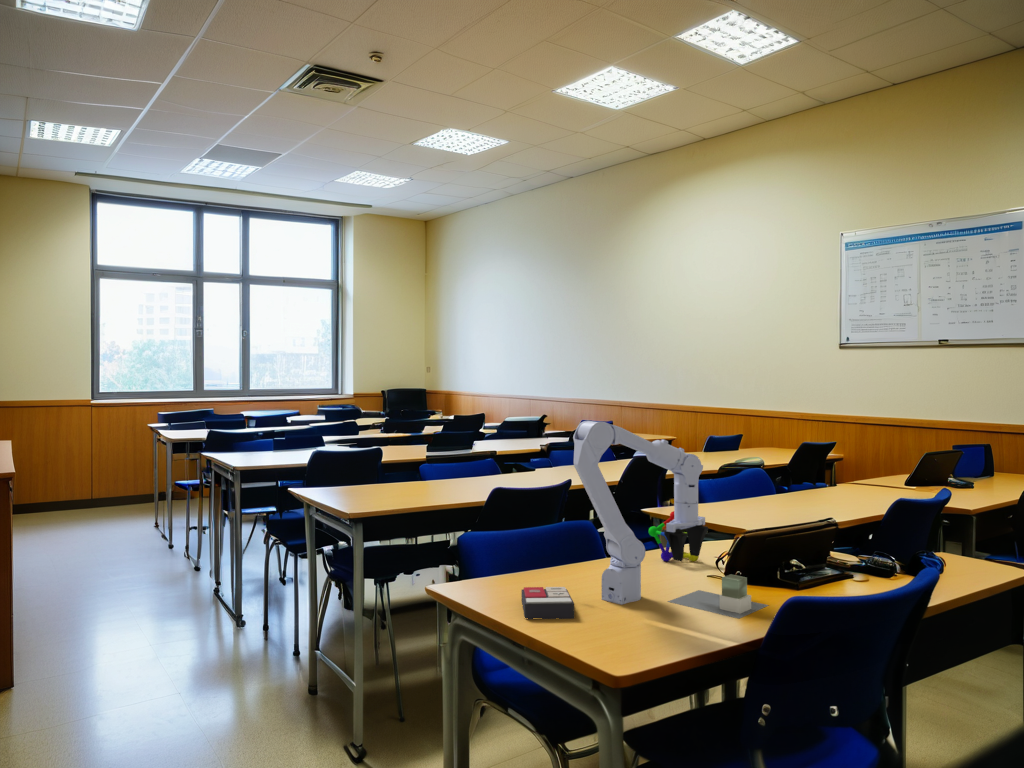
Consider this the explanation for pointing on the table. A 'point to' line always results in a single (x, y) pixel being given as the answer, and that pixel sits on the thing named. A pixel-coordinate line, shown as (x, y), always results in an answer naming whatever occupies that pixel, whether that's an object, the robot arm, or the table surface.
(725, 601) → the base brick
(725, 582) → the green cube
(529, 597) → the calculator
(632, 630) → the table surface
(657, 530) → the educational toy
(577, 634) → the table surface
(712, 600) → the base mat
